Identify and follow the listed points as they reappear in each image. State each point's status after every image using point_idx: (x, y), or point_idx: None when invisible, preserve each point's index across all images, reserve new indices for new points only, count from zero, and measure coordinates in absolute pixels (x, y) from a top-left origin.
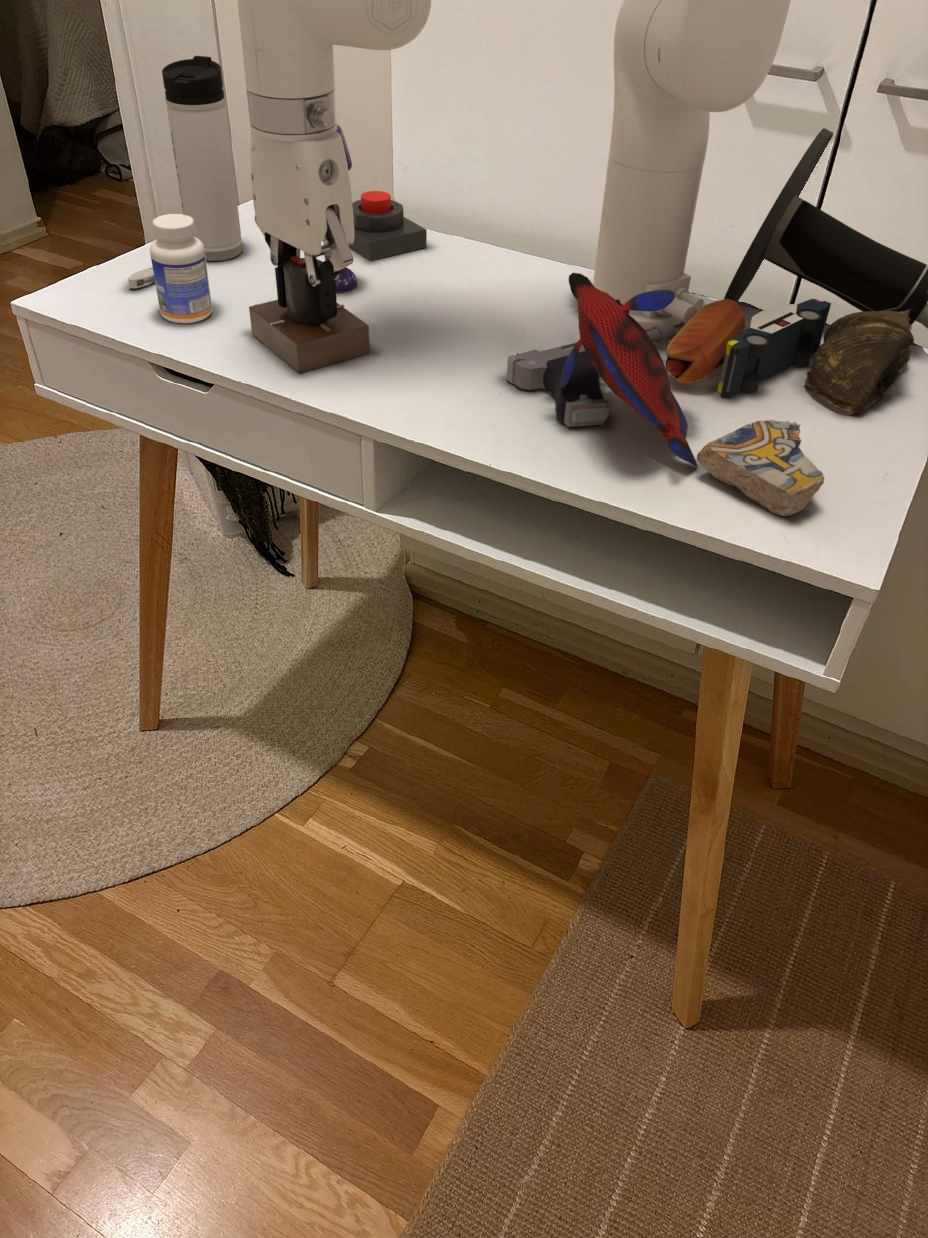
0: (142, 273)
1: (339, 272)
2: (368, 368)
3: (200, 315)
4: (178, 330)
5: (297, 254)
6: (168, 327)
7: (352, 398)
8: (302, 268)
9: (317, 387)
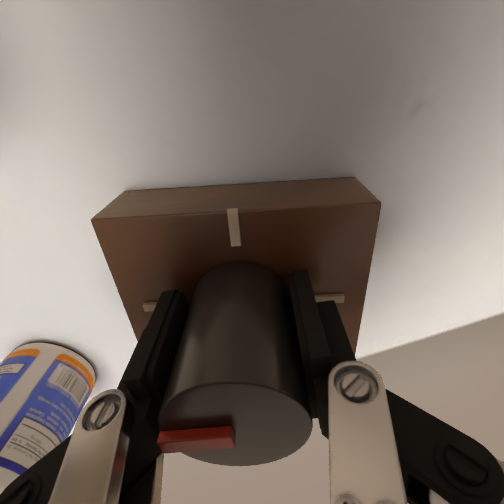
0: None
1: (439, 422)
2: (408, 211)
3: (87, 371)
4: (115, 388)
5: (129, 420)
6: None
7: (473, 284)
8: (255, 438)
9: (397, 311)
